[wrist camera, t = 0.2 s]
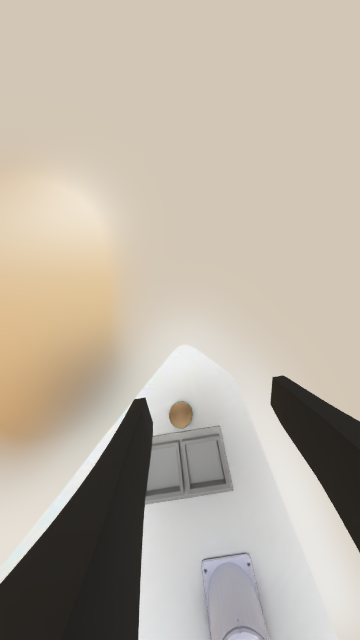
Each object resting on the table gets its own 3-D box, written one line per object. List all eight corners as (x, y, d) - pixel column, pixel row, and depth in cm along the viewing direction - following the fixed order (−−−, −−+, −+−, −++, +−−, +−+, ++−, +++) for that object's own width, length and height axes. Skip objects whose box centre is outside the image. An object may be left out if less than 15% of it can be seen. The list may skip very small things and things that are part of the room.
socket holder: (232, 488, 31) (235, 496, 28) (142, 502, 31) (137, 511, 28) (219, 425, 35) (221, 428, 33) (140, 438, 35) (136, 441, 33)
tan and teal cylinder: (193, 422, 36) (194, 426, 31) (173, 426, 36) (170, 430, 31) (190, 399, 38) (190, 400, 33) (170, 402, 38) (167, 403, 33)
